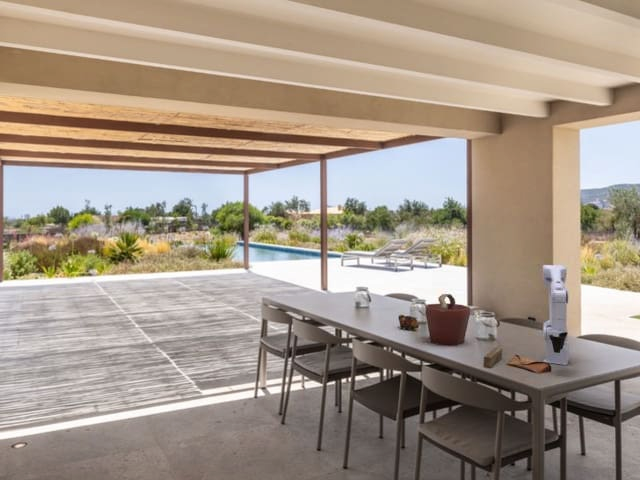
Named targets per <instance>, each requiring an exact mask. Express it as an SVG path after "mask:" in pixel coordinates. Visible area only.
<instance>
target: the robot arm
mask: <svg viewBox="0 0 640 480" xmlns="http://www.w3.org/2000/svg"><path fill="white" fill-rule="evenodd" d="M567 274H568V273H567V266H566V265H565V264H564V265H563V264H562V265H559V264H558V265H554V264H543V265H542V282H543V284H544V285H545V286H547V289H548V310H549V311H548V313H549V316H548V317H549V319H547V321H545V322H544V323H543V324H542V339H543V340H544V341H545V358H544V359H543V362H546V363H548V364H555V365H556V364H557V365H562V366H567V365H568V364H569V362H570V343H567V341H568V337H569V336H568V329H567V328H568V327H567V316H568V315H567V311H568V310H567V309H568V303H569V292H568V290H567V289H566V284H565V283H566V280H567Z"/></svg>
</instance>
